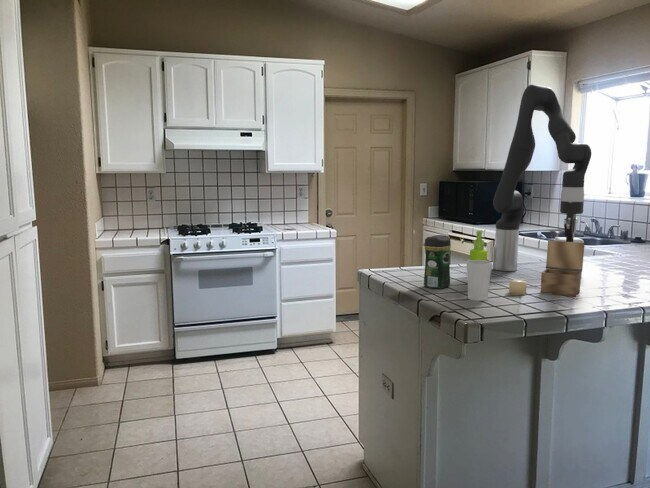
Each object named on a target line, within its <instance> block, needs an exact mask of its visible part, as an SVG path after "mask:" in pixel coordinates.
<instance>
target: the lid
mask: <svg viewBox="0 0 650 488" xmlns="http://www.w3.org/2000/svg"><path fill="white" fill-rule="evenodd" d="M546 250H547V252H546V263H545V269H558V270H569V271H580V272H582V273H583V268H584V267H583V266H584V265H583V264H584V254H585V242H584V243H578V242H562V241H555V240H547V249H546Z"/></svg>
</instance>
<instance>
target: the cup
mask: <svg viewBox="0 0 650 488" xmlns="http://www.w3.org/2000/svg"><path fill="white" fill-rule="evenodd" d="M492 269H493V261H489V260H487V261H484V260H470V259H468V260H466V273H467V275H466V277H467V299H468V300H471V301H479V302H483V301H487V300H488V299H489V290H490V282H491V274H492Z"/></svg>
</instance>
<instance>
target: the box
mask: <svg viewBox="0 0 650 488" xmlns="http://www.w3.org/2000/svg"><path fill="white" fill-rule="evenodd" d="M540 277H541V278H540V293H541V294H547V295H555V296H564V297H565V296H566V297H574V298H575V297H577V296H578V295H579V293H580V291H581V278H582V277H581V272H579V271H568V270H556V269H547V268H545V270H542V271H541V275H540Z"/></svg>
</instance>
